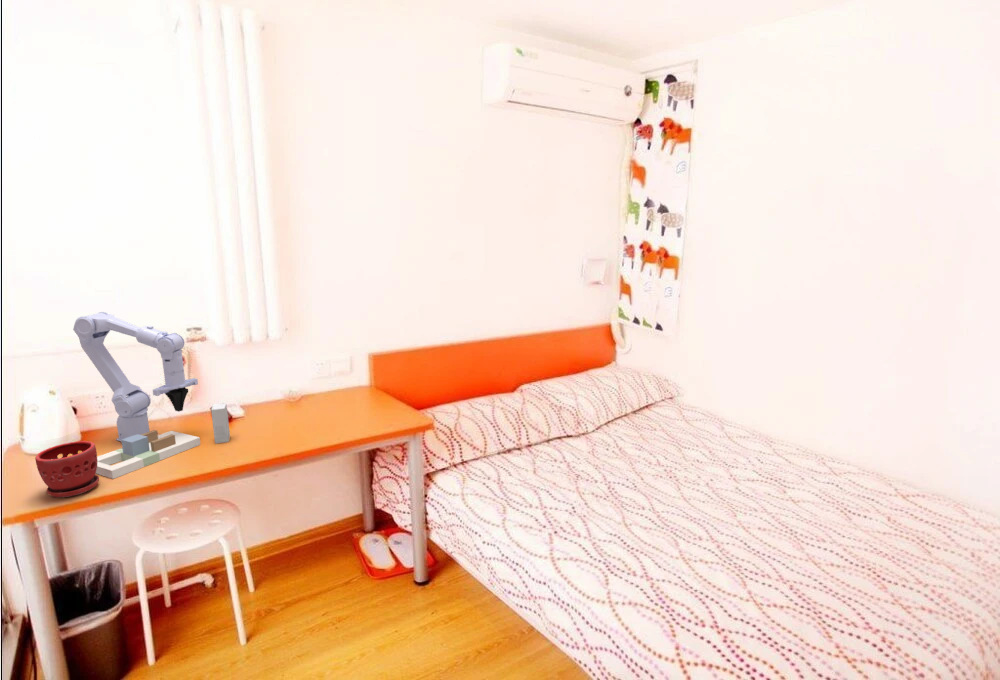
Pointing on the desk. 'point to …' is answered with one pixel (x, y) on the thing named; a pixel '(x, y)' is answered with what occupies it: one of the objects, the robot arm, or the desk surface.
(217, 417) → the skincare box
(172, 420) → the desk surface
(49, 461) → the plant pot
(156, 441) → the deck
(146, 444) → the block
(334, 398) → the desk surface
